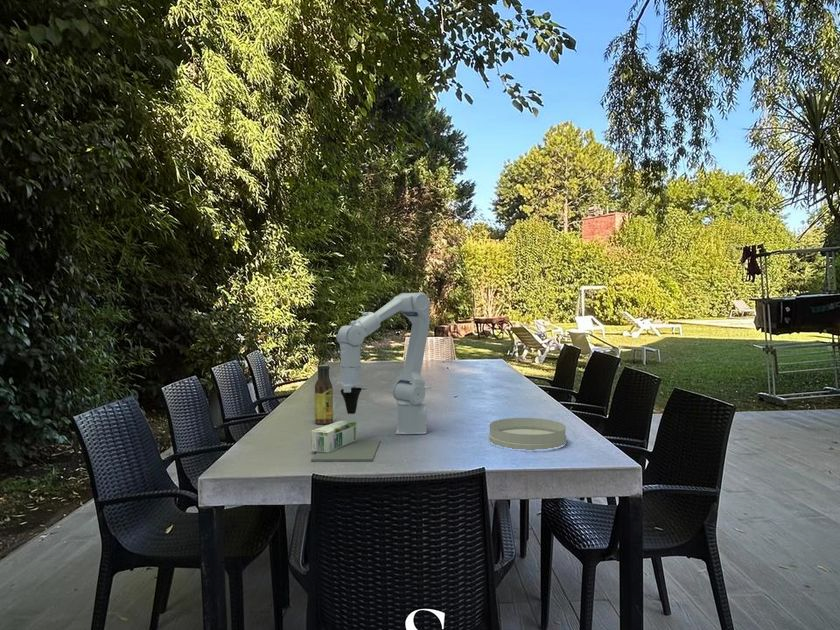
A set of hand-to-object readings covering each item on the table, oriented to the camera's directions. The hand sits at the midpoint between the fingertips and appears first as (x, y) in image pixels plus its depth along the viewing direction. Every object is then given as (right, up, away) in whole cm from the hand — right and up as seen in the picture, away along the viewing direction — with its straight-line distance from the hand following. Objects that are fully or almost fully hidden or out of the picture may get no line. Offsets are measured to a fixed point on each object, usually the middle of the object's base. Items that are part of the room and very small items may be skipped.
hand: (351, 413), depth 159 cm
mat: (0, -9, -9) cm, 13 cm away
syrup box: (-1, -6, +3) cm, 6 cm away
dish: (+51, -9, 0) cm, 52 cm away
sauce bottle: (-13, -9, +29) cm, 33 cm away
